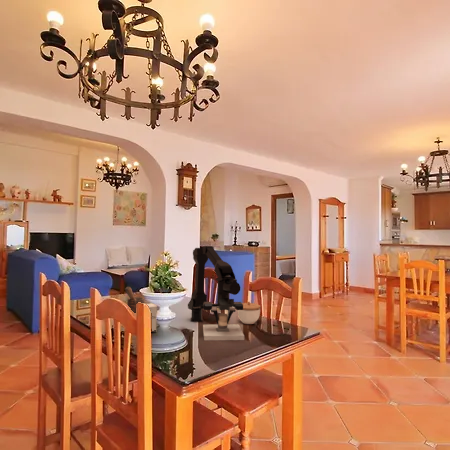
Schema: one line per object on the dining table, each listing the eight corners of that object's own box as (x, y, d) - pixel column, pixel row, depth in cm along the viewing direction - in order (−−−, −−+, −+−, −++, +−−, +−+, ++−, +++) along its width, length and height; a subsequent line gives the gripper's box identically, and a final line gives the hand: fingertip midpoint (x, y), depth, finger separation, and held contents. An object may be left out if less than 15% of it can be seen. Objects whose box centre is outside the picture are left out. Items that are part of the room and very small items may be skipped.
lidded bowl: (248, 327, 167) (249, 305, 167) (232, 321, 176) (232, 301, 176) (265, 323, 175) (265, 302, 175) (248, 318, 184) (248, 298, 185)
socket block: (202, 328, 162) (203, 324, 162) (238, 328, 164) (238, 324, 164) (204, 340, 144) (204, 335, 144) (244, 340, 146) (244, 335, 146)
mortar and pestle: (138, 328, 161) (139, 287, 161) (121, 327, 161) (122, 287, 162) (145, 321, 172) (147, 284, 173) (130, 321, 173) (131, 283, 173)
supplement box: (140, 334, 151) (141, 307, 151) (137, 330, 157) (138, 304, 157) (156, 332, 154) (157, 306, 154) (152, 328, 160) (153, 302, 161)
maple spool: (217, 326, 156) (217, 313, 156) (226, 325, 157) (227, 313, 157) (218, 328, 152) (218, 315, 152) (227, 328, 152) (228, 315, 152)
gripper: (204, 294, 146) (203, 329, 145) (245, 294, 148) (244, 328, 147) (203, 289, 157) (202, 322, 156) (241, 290, 159) (241, 322, 158)
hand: (222, 324), depth 154 cm, fingers closed on maple spool, 4 cm apart
